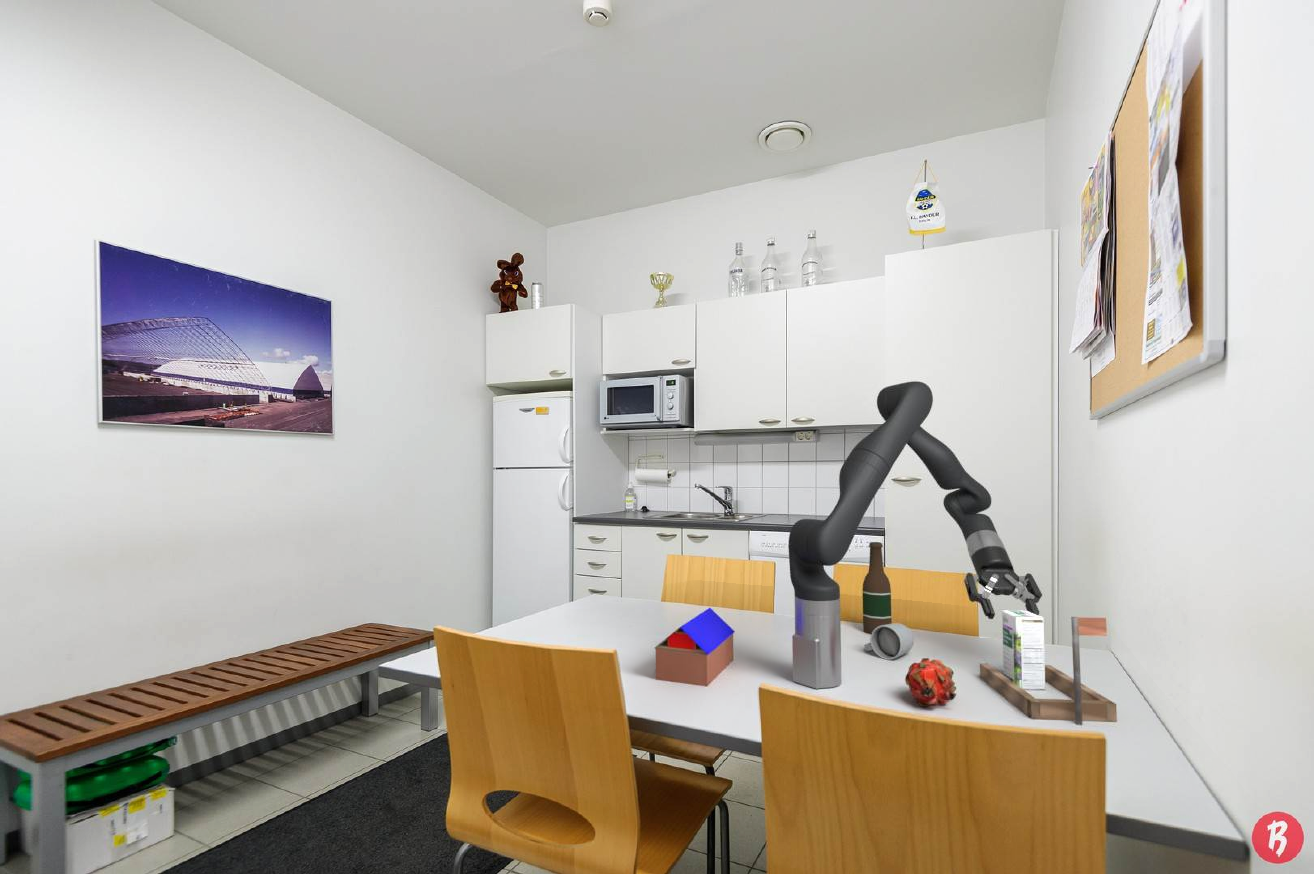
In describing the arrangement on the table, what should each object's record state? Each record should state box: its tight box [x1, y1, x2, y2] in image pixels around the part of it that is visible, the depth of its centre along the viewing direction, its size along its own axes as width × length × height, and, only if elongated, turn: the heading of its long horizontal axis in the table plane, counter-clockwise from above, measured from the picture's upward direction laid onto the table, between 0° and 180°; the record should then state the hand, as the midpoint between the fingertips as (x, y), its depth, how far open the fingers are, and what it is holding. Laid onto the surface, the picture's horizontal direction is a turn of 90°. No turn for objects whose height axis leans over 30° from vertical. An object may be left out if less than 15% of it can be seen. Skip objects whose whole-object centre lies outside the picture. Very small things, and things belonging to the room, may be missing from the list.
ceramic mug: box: [864, 622, 915, 661], centre depth 149 cm, size 11×8×8 cm
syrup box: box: [1001, 609, 1046, 691], centre depth 128 cm, size 6×6×14 cm
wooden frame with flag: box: [979, 616, 1118, 726], centre depth 120 cm, size 24×14×18 cm, turn 174°
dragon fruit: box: [904, 657, 957, 708], centre depth 118 cm, size 8×8×12 cm
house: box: [654, 607, 736, 687], centre depth 139 cm, size 12×20×12 cm, turn 157°
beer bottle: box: [862, 541, 893, 635], centre depth 170 cm, size 8×8×24 cm
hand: (1013, 617), depth 132 cm, fingers open, 8 cm apart
